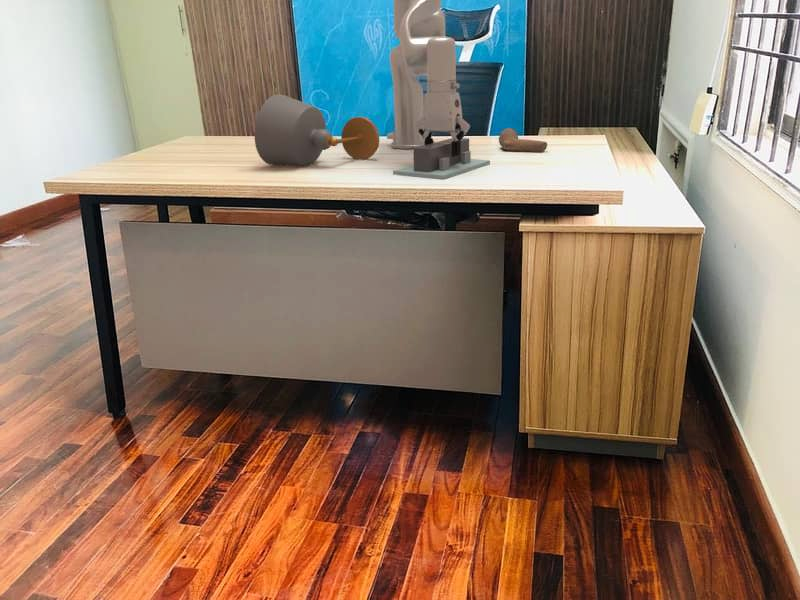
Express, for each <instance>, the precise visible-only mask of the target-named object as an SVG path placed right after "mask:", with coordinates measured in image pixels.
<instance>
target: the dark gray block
mask: <svg viewBox="0 0 800 600" xmlns="http://www.w3.org/2000/svg"><path fill="white" fill-rule="evenodd" d="M452 141H454V140H453V138H452V137H451V138H447V139H443V140H439V141H433V143H431V144H427V145H423V146H419V147H415V148H413V150H412V151H413V165H414V171H421V172H433V171H436V170H439V159H442V158H449V166H452V165H455V164H459V163H461V153H463V152H466V151H470V138H467V137H465V138H464V137H463V139H462V140H461V151H460V155H459V156H455V157H453V156H452Z"/></svg>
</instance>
